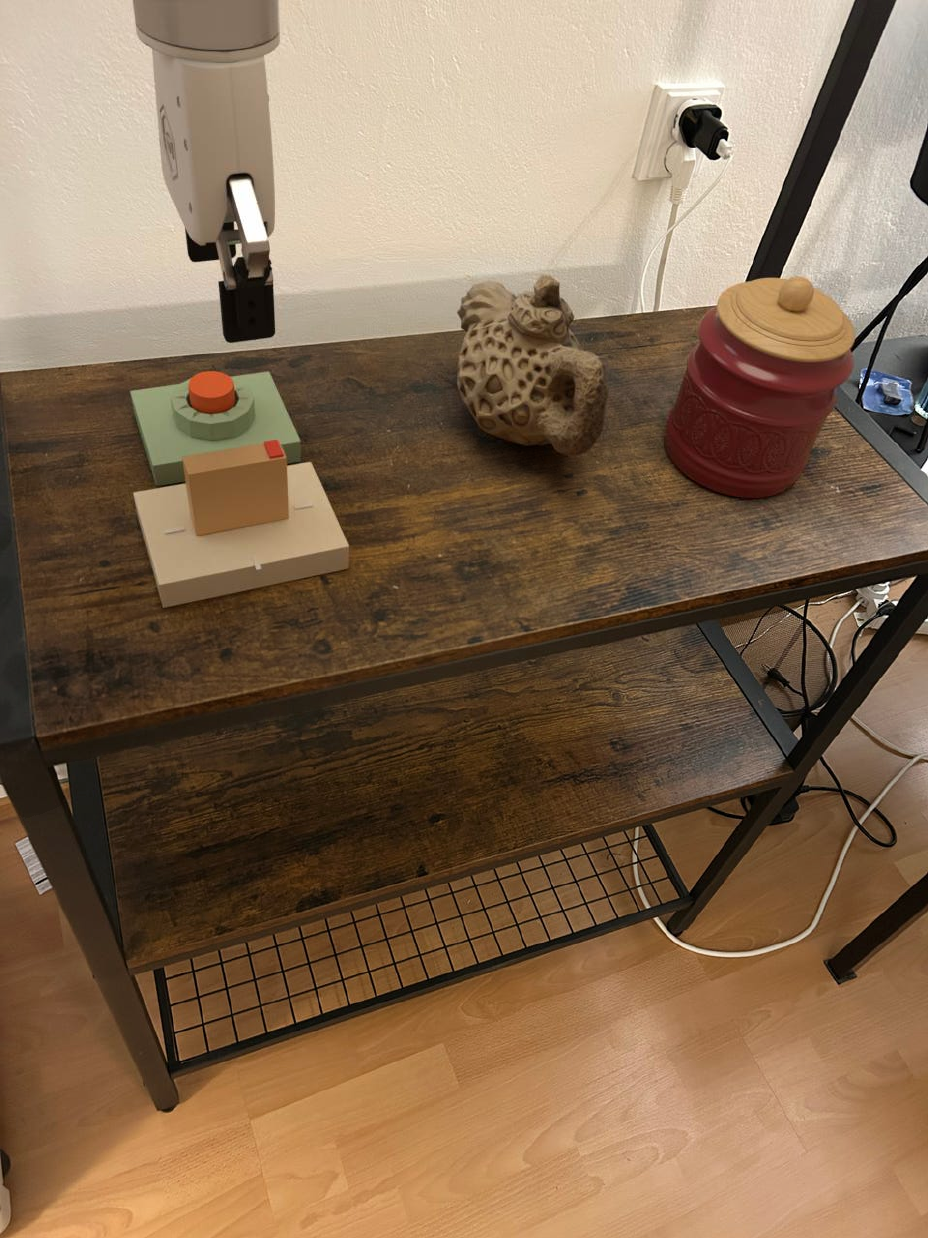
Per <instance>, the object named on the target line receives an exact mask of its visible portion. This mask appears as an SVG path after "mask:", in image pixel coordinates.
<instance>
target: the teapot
mask: <svg viewBox="0 0 928 1238" xmlns="http://www.w3.org/2000/svg"><path fill="white" fill-rule="evenodd" d="M460 301H461V303H460V307H459V308H458V309H457V311H456V313H457V315H458V318H459V319H460V321H461V323H460V329H461V330H463V331H465V332H466V333H465V335H464V337H463V340H462V344H461V348H460V351H459V354H458V363H457V375H456V377H457V378H456V385H457V389H458V393H459V395H460V398H461V400H462V402H463V404H464V405H465V407H466V408H467V410H468V411H469V413H470V414H471V416H472V417H473V419H474V420H475V422H476V424H477V425H478V428H479V429H480V430H482V431H484V432H485V433H487V434H489V435H491V436H494V437H496V438H500V439H502V440H504V441H506V442H508V443H515V444H518V445H521V446H525V447H530V446H535V445H536V446H537V445H538V446H545V445H550V444H551V445H552V447H553V448H554V450H555V451H556V452H558V453H559V454H561V455H566V456H578V455H583V454H586V453H587V452H589V450H590V449H591V448H593V446H594V445H595V444H596V442H598V439H599V438H600V437H601V435H602V432H603V428H604V425H605V414H606V406H607V401H608V396H609V387H608V384H607V381H606V369H607V368H606V365H605V364H604V363H603V362H602V360H601V357H600V356H599V355H598V354H596V353H593V352H592V351H587V350H586V351H585V350H584V349H583V347H582V345H581V344H580V342H579V339H577V337H576V336H575V334H574V333H573V332H572V330H571V329H570V326H571V324H572V322H573V321H574V319H575V315H574V312H573V311H572V308H571V307H570V305H569V304H568V302H567V301H566V300H565V299H564V298H563V297H561V296H560V282H559V281H557V280H556V279H555V278H554V277H552V276H551V275H549V274H541V275H540V276H539V277H538V278H537V279H536V282H535V284H534V285H533V291H531V290H529V291H524V292H519V293H518V294H517V295H516V294H515V293H514V292H512V291H510V290H508V289H506V288H505V286H504V284H503V283H502V282H498V281H495V280H494V281H493V280H487V281H483V282H478V283H475V284H473V285H471V287H470V288H469V290H468V291H466V295H464V296H463V297H461V300H460Z"/></svg>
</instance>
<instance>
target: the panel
mask: <svg viewBox="0 0 928 1238" xmlns="http://www.w3.org/2000/svg"><path fill="white" fill-rule="evenodd" d="M287 476H288V504H289V518H288V519H283V520H278V521H272V522H267V523H262V524H257V525H251V526H246V527H241V528H236V529H231V530H225V531H220V532H215V533H210V534H204V535H199V536H196V533H195V530H194V527H193V524H192V521H191V517H190V510H189V503H188V495H187V488H186V483H181V484H174V485H169V486H163V487H157V488H152V489H147V490H139V491H134V492H133V493H132V494H133V499H134V500H133V501H134V505H135V510H136V515H137V519H138V522H139V527H140V530H141V533H142V537H143V541H144V544H145V549H146V551H147V555H148V558H149V562H150V566H151V569H152V573H153V576H154V581H155V584H156V587H157V591H158V595H159V598H160V603H161V605H162V608H163V609H165V608H170V607H174V606H175V607H176V606H179V605H185V604H188V603H193V602H197V601H198V602H199V601H203V600H207V599H208V600H209V599H212V598H217V597H221V596H226V595H230V594H231V595H232V594H235V593H240V592H246V591H251V590H255V589H259V588H260V589H261V588H264V587H267V586H273V585H277V584H283V583H287V582H292V581H297V580H301V579H306V578H311V577H316V576H320V575H324V574H329V573H335V572H338V571H344V570H348V569H349V566H350V564H349V562H350V545H349V542H348V540H347V538H346V536H345V534H344V532H343V531H344V530H342V527H341V525H340V522H339V520H338V518H337V516H336V514H335V511H334V510H333V507H332V505H331V503H330V501H329V499H328V495H327V494H326V492H325V489H324V487H323V485H322V483H321V481H320V478H319V476H318V474H317V471H316V469H315V468H314V465H313V463H312V461H307V462H300V463H294V464H290V465H287Z"/></svg>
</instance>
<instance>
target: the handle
mask: <svg viewBox="0 0 928 1238" xmlns="http://www.w3.org/2000/svg"><path fill="white" fill-rule="evenodd" d="M182 460H183V467H184V474H185V484H186V488H187V495H188V503H189V510H190V517H191V521H192V524H193V527H194V530H195V533H196V536H199V535H204V534H210V533H215V532H220V531H225V530H231V529H236V528H241V527H246V526H251V525H257V524H262V523H267V522H272V521H278V520H283V519H288V518H289V504H288V476H287V466H288V464H287V457H286V455H285V452H284V450H283V448H282V445H281V443H280V441H278V440H271V441H265V442H264V443H261V444H255V445H249V446H243V447H237V448H231V449H225V450H219V451H213V452H207V453H200V454H194V455H188V456H183V457H182Z"/></svg>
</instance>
